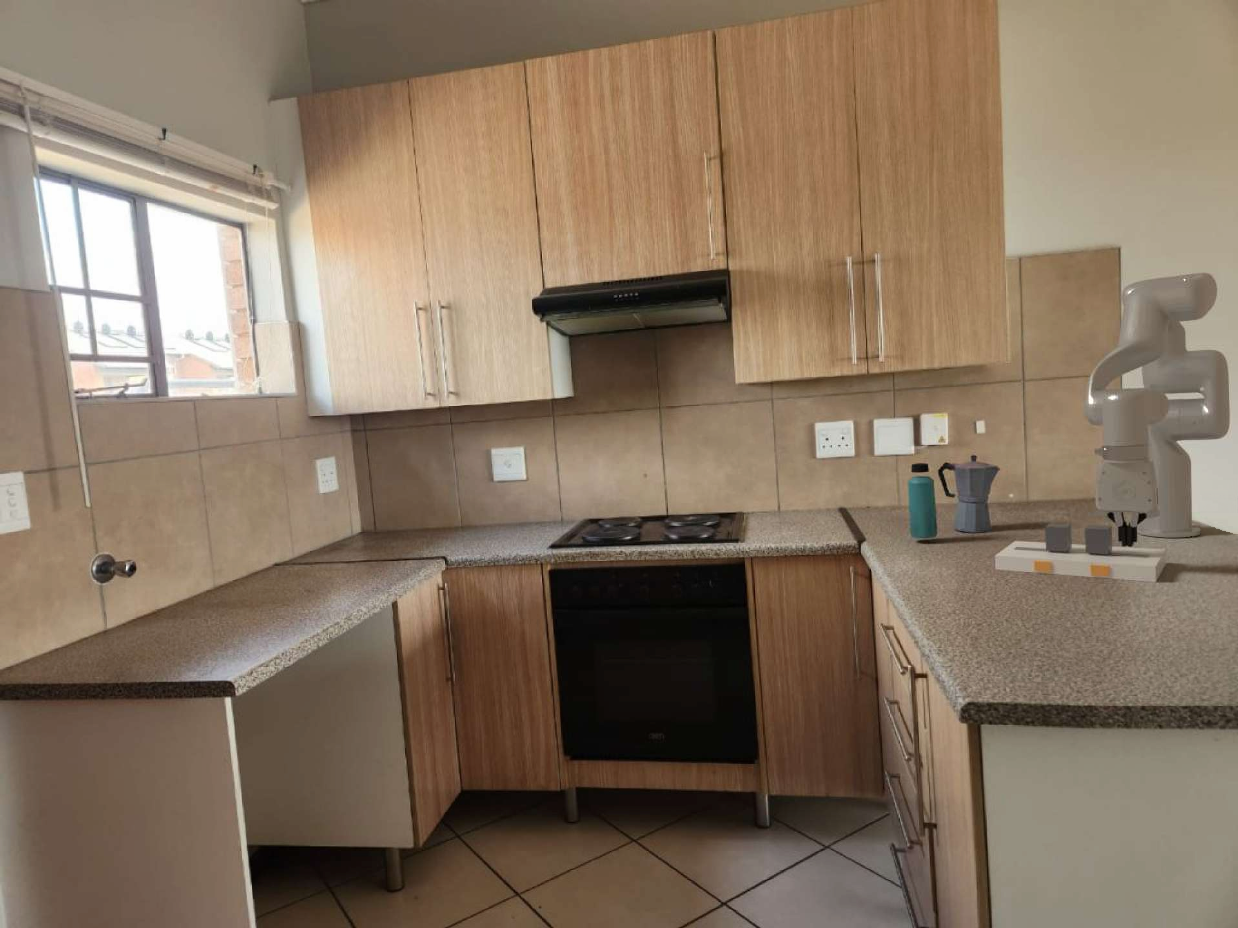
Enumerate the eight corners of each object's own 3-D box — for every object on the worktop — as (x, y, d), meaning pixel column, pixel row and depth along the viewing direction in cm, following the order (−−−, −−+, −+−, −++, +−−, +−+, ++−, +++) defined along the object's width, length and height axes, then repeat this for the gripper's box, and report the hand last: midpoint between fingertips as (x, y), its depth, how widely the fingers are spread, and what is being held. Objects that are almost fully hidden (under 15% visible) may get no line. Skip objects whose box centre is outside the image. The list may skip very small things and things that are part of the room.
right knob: (1089, 548, 161) (1088, 524, 161) (1112, 550, 158) (1111, 525, 158) (1085, 552, 158) (1085, 528, 158) (1108, 554, 155) (1108, 529, 155)
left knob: (1050, 546, 166) (1049, 523, 165) (1071, 547, 163) (1071, 524, 163) (1045, 550, 163) (1045, 526, 162) (1067, 551, 160) (1066, 527, 160)
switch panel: (1015, 553, 176) (1015, 540, 176) (1166, 563, 158) (1165, 548, 157) (995, 569, 164) (994, 554, 164) (1155, 582, 145) (1155, 565, 145)
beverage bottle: (940, 543, 192) (936, 463, 191) (912, 544, 194) (908, 465, 192) (935, 538, 199) (931, 461, 197) (907, 539, 200) (904, 462, 198)
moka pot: (1001, 534, 198) (998, 456, 196) (936, 532, 206) (933, 457, 204) (1005, 527, 206) (1002, 452, 204) (943, 526, 214) (939, 454, 212)
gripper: (1078, 456, 155) (1081, 546, 157) (1169, 455, 145) (1171, 551, 147) (1086, 452, 161) (1088, 539, 163) (1174, 451, 151) (1176, 544, 153)
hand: (1127, 545), depth 155 cm, fingers closed
